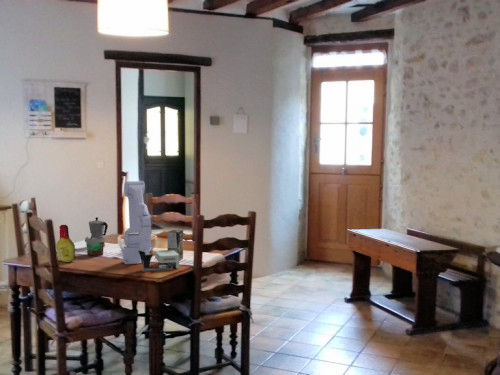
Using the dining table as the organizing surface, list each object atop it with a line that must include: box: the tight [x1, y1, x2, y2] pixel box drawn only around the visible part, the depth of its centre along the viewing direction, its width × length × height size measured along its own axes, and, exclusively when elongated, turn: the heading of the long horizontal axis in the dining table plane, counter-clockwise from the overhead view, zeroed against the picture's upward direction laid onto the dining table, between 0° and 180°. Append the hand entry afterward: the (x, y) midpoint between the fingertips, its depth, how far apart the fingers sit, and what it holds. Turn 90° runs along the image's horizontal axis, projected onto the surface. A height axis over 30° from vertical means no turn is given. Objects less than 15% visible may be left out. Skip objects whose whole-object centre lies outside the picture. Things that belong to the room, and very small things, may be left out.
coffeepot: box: [88, 217, 108, 247], centre depth 345 cm, size 15×9×18 cm, turn 59°
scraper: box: [142, 262, 174, 273], centre depth 293 cm, size 15×11×6 cm
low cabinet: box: [154, 249, 180, 269], centre depth 298 cm, size 10×15×7 cm
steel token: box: [158, 264, 170, 269], centre depth 296 cm, size 5×5×1 cm
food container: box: [84, 236, 106, 257], centre depth 321 cm, size 12×6×10 cm, turn 68°
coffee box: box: [167, 229, 184, 262], centre depth 312 cm, size 9×6×16 cm
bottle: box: [55, 224, 76, 263], centre depth 305 cm, size 12×6×20 cm, turn 60°
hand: (145, 266), depth 287 cm, fingers open, 7 cm apart
